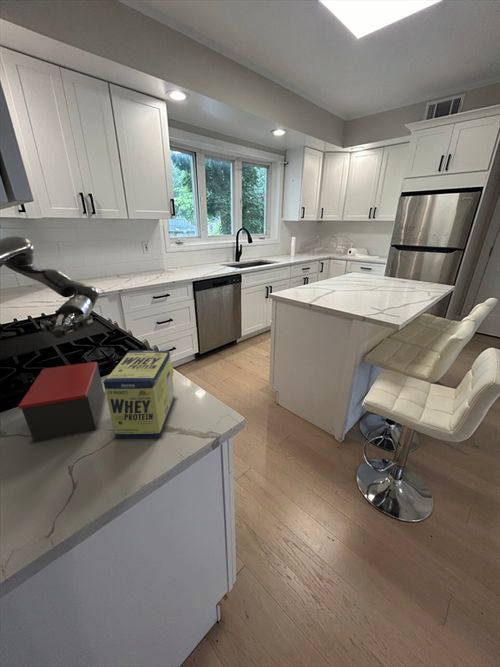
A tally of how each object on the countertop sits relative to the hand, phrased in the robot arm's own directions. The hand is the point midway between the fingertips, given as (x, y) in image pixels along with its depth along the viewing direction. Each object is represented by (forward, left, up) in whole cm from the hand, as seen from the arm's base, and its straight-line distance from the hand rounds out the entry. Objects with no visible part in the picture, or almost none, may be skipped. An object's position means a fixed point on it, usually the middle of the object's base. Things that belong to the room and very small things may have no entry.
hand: (58, 334), depth 68 cm
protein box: (+22, -1, -21) cm, 30 cm away
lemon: (+19, +15, -21) cm, 31 cm away
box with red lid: (+3, -4, -21) cm, 21 cm away
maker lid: (+3, -5, -11) cm, 12 cm away
